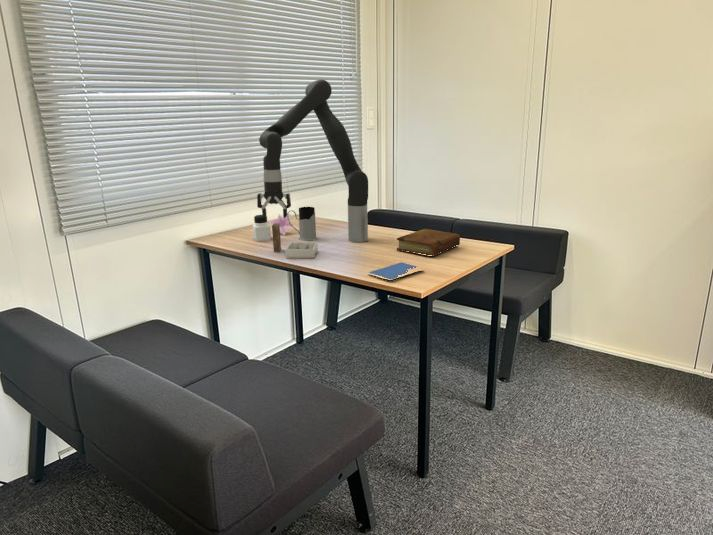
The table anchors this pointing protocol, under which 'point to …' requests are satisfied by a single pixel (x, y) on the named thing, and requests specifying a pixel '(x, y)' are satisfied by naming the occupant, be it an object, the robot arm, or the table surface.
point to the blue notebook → (393, 270)
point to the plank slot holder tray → (301, 250)
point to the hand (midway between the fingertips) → (274, 217)
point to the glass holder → (306, 223)
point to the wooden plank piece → (276, 237)
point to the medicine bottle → (261, 229)
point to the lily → (282, 223)
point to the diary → (428, 241)
